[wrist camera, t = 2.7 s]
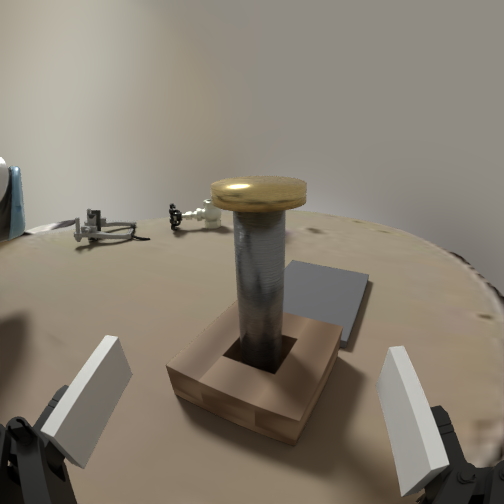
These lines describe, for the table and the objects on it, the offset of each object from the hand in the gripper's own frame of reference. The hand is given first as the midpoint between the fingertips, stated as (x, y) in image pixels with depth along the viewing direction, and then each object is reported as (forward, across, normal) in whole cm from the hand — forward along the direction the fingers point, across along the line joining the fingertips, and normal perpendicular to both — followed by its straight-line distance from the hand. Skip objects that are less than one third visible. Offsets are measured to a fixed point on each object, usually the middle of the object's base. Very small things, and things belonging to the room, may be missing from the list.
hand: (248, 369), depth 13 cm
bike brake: (+50, -39, -11) cm, 65 cm away
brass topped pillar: (+10, 0, -10) cm, 14 cm away
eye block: (+10, 0, -11) cm, 15 cm away
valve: (+55, -18, -11) cm, 59 cm away
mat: (+25, +6, -11) cm, 28 cm away
